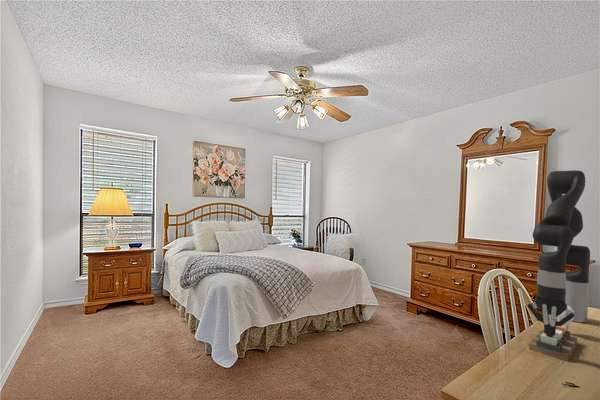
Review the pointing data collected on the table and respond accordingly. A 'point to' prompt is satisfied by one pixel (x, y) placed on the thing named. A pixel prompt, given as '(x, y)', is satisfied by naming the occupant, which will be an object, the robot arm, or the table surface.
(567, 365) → the table surface
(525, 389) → the table surface
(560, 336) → the offwhite button
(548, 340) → the sage button
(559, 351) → the button board
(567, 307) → the lightbulb
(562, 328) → the terracotta button
